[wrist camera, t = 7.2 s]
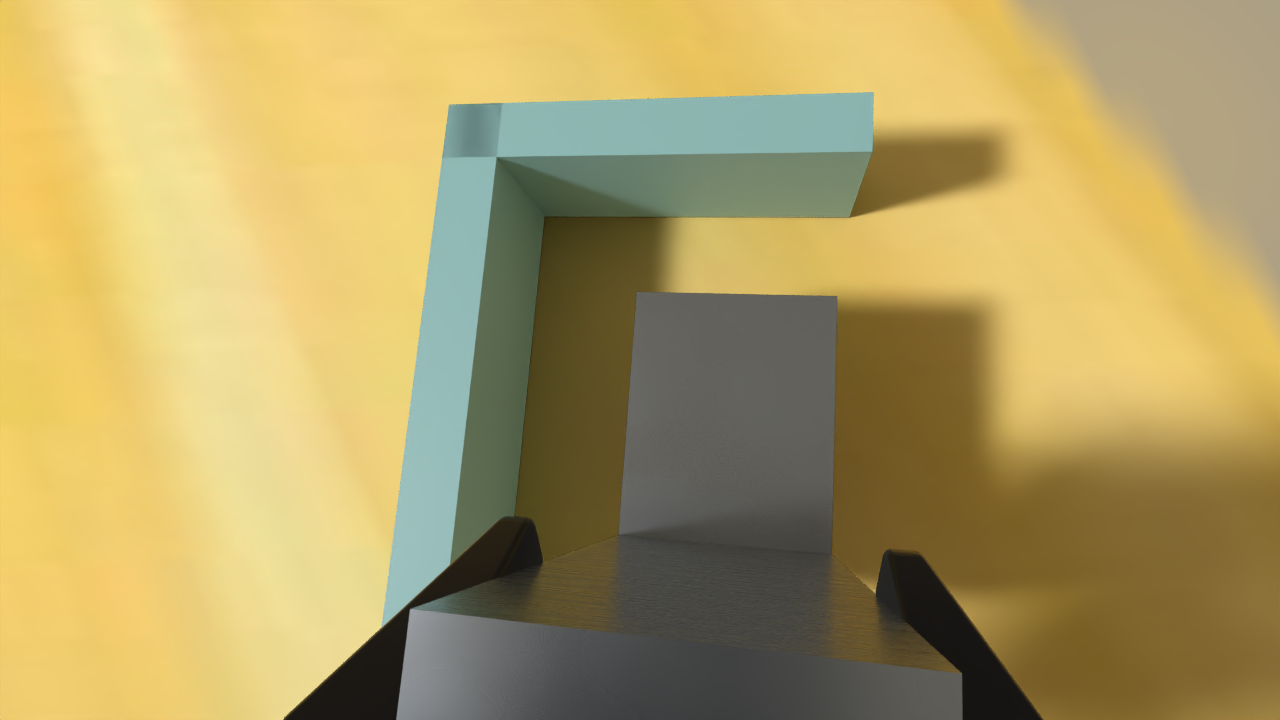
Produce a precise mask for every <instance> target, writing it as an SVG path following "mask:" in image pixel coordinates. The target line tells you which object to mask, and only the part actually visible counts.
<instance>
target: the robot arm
mask: <svg viewBox="0 0 1280 720" xmlns="http://www.w3.org/2000/svg"><path fill="white" fill-rule="evenodd" d="M540 563H543V558H542V553H541V549H540V544H539V540H538V536H537V532H536V527H535V524H534V522H533V521H532V519H530V518H526V517H515V516H505V517H502V518H500V519H499V520H498V521H497V522H496V523H494V524H493V525H492V526H491V527H490V528H489V529H488V530H487V531H486V532H485V533H484V534H483V535H481V536H480V537H479V538H478V539H477V540H476V541H475V542H474V543H473V544H472V545H471V546H470V547H468V548H467V549H466V550H465V551H464V552H463V553H462V554H461V555H460V556H459V557H458V558H457V559H455V560H454V561H453V562H452V563H451V564H450V565H449V566H448V567H447V568H446V569H445V570H444V571H442V572H441V573H440V574H439V575H438V576H437V577H436V578H435V579H434V580H433V581H432V582H431V583H429V584H428V585H427V586H426V587H425V588H424V589H423V590H422V591H421V592H420V593H419V594H418V595H416V596H415V597H414V598H413V599H412V600H411V601H410V602H409V603H408V604H407V605H406V606H405V607H403V608H402V609H401V610H400V611H399V612H398V613H397V614H396V615H395V616H394V617H393V618H392V619H390V620H389V621H388V622H387V623H386V624H385V625H384V626H383V627H382V628H381V629H380V630H379V631H377V632H376V633H375V634H374V635H373V636H372V637H371V638H370V639H369V640H368V641H367V642H366V643H364V644H363V645H362V646H361V647H360V648H359V649H358V650H357V651H356V652H355V653H354V654H353V655H351V656H350V657H349V658H348V659H347V660H346V661H345V662H344V663H343V664H342V665H341V666H340V667H338V668H337V669H336V670H335V671H334V672H333V673H332V674H331V675H330V676H329V677H328V678H327V679H325V680H324V681H323V682H322V683H321V684H320V685H319V686H318V687H317V688H316V689H315V690H314V691H312V692H311V693H310V694H309V695H308V696H307V697H306V698H305V699H304V700H303V701H302V702H301V703H299V704H298V705H297V706H296V707H295V708H294V709H293V710H292V711H291V712H290V713H289V714H288V715H287V716H285V717H284V719H283V720H396V718H397V710H398V702H399V694H400V686H401V678H402V670H403V662H404V654H405V646H406V638H407V630H408V622H409V615H410V609H412V608H415V607H417V606H420V605H423V604H426V603H429V602H431V601H434V600H437V599H440V598H443V597H445V596H448V595H451V594H454V593H457V592H459V591H462V590H465V589H468V588H471V587H474V586H476V585H479V584H482V583H485V582H488V581H490V580H493V579H496V578H501V577H504V576H507V575H510V574H512V573H515V572H518V571H521V570H523V569H526V568H529V567H532V566H535V565H537V564H540ZM876 597H877V598H878V599H880V600H881V601H882V602H883V603H884V604H885V605H886V606H887V607H888V608H889V609H890V610H891V611H892V612H894V613H895V614H896V615H897V616H898V617H899V618H900V619H901V620H903V621H905V622H906V623H908V624H909V625H910V626H911V627H912V628H913V629H914V630H915V631H916V632H917V633H918V634H919V635H921V636H922V637H923V638H924V639H925V640H926V641H927V642H928V643H929V644H930V645H931V646H933V647H934V648H935V649H936V650H937V651H938V652H939V653H940V654H941V655H942V656H943V657H945V658H946V659H947V660H948V661H949V662H950V663H951V664H952V665H953V666H954V667H955V668H957V669H958V670H959V671H960V672H961V673H962V715H963V720H1043V718H1042V717H1041V716H1040V714H1039V713H1038V712H1037V710H1036V709H1035V707H1034V706H1033V705H1032V703H1031V702H1030V701H1029V699H1028V698H1027V697H1026V695H1025V694H1024V692H1023V691H1022V690H1021V688H1020V687H1019V686H1018V684H1017V683H1016V681H1015V680H1014V679H1013V677H1012V676H1011V675H1010V673H1009V672H1008V671H1007V669H1006V668H1005V666H1004V665H1003V664H1002V662H1001V661H1000V660H999V658H998V657H997V656H996V654H995V653H994V651H993V650H992V649H991V647H990V646H989V645H988V643H987V642H986V641H985V639H984V638H983V636H982V635H981V634H980V632H979V631H978V630H977V628H976V627H975V625H974V624H973V623H972V621H971V620H970V619H969V617H968V616H967V615H966V613H965V612H964V610H963V609H962V608H961V606H960V605H959V604H958V602H957V601H956V600H955V598H954V597H953V595H952V594H951V593H950V591H949V590H948V589H947V587H946V586H945V585H944V583H943V582H942V580H941V579H940V578H939V576H938V575H937V574H936V572H935V571H934V570H933V568H932V567H931V565H930V564H929V563H928V561H927V560H926V559H925V557H924V556H923V555H922V554H920V553H919V552H916V551H908V550H897V549H888V550H886V551H885V553H884V555H883V559H882V564H881V568H880V573H879V578H878V583H877V588H876Z"/></svg>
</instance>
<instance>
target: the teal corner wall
mask: <svg viewBox="0 0 1280 720" xmlns="http://www.w3.org/2000/svg"><path fill="white" fill-rule="evenodd" d="M873 95H874V92H866V93H832V94H798V95H764V96H730V97H696V98H661V99H627V100H593V101H559V102H525V103H491V104H456V105H449V109H448V117H447V125H446V133H445V140H444V148H443V156H442V164H441V171H440V179H439V187H438V195H437V203H436V210H435V218H434V226H433V234H432V241H431V249H430V257H429V265H428V272H427V280H426V288H425V296H424V303H423V311H422V319H421V327H420V334H419V342H418V350H417V358H416V365H415V373H414V381H413V389H412V396H411V404H410V412H409V420H408V427H407V435H406V443H405V451H404V458H403V466H402V474H401V482H400V490H399V497H398V505H397V513H396V521H395V528H394V536H393V544H392V552H391V559H390V567H389V575H388V583H387V590H386V598H385V606H384V614H383V621H382V627H383V626H384V625H385V624H386V623H387V622H388V621H389V620H390V619H392V618H393V617H394V616H395V615H396V614H397V613H398V612H399V611H400V610H401V609H402V608H403V607H405V606H406V605H407V604H408V603H409V602H410V601H411V600H412V599H413V598H414V597H415V596H416V595H418V594H419V593H420V592H421V591H422V590H423V589H424V588H425V587H426V586H427V585H428V584H429V583H431V582H432V581H433V580H434V579H435V578H436V577H437V576H438V575H439V574H440V573H441V572H442V571H444V570H445V569H446V568H447V567H448V566H449V565H450V564H451V563H452V562H453V561H454V560H455V559H457V558H458V557H459V556H460V555H461V554H462V553H463V552H464V551H465V550H466V549H467V548H468V547H470V546H471V545H472V544H473V543H474V542H475V541H476V540H477V539H478V538H479V537H480V536H481V535H483V534H484V533H485V532H486V531H487V530H488V529H489V528H490V527H491V526H492V525H493V524H494V523H496V522H497V521H498V520H499V519H500V518H502V517H505V516H515V506H516V496H517V486H518V476H519V466H520V456H521V446H522V436H523V426H524V416H525V406H526V396H527V386H528V376H529V366H530V356H531V346H532V337H533V327H534V317H535V307H536V297H537V287H538V277H539V267H540V257H541V247H542V237H543V227H544V217H850V214H851V211H852V208H853V205H854V203H855V200H856V197H857V194H858V191H859V189H860V186H861V183H862V180H863V177H864V175H865V172H866V169H867V166H868V163H869V160H870V158H871V155H872V152H873Z"/></svg>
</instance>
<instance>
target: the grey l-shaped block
mask: <svg viewBox="0 0 1280 720" xmlns="http://www.w3.org/2000/svg"><path fill="white" fill-rule="evenodd" d="M836 331H837V296H803V295H757V294H711V293H665V292H637V295H636V308H635V322H634V335H633V348H632V361H631V375H630V388H629V401H628V415H627V428H626V441H625V455H624V468H623V481H622V495H621V508H620V521H619V534H618V535H617V536H614V537H611V538H608V539H606V540H603V541H600V542H597V543H594V544H592V545H589V546H586V547H583V548H580V549H577V550H575V551H572V552H569V553H566V554H563V555H561V556H558V557H555V558H552V559H549V560H547V561H544V562H543V563H540V564H537V565H535V566H532V567H529V568H526V569H523V570H521V571H518V572H515V573H512V574H510V575H507V576H504V577H501V578H496V579H493V580H490V581H488V582H485V583H482V584H479V585H476V586H474V587H471V588H468V589H465V590H462V591H459V592H457V593H454V594H451V595H448V596H445V597H443V598H440V599H437V600H434V601H431V602H429V603H426V604H423V605H420V606H417V607H415V608H412V609H410V615H409V622H408V630H407V638H406V646H405V654H404V662H403V670H402V678H401V686H400V694H399V702H398V710H397V718H396V720H963V715H962V673H961V672H960V671H959V670H958V669H957V668H955V667H954V666H953V665H952V664H951V663H950V662H949V661H948V660H947V659H946V658H945V657H943V656H942V655H941V654H940V653H939V652H938V651H937V650H936V649H935V648H934V647H933V646H931V645H930V644H929V643H928V642H927V641H926V640H925V639H924V638H923V637H922V636H921V635H919V634H918V633H917V632H916V631H915V630H914V629H913V628H912V627H911V626H910V625H909V624H908V623H906V622H905V621H903V620H901V619H900V618H899V617H898V616H897V615H896V614H895V613H894V612H892V611H891V610H890V609H889V608H888V607H887V606H886V605H885V604H884V603H883V602H882V601H881V600H880V599H878V598H877V597H876V594H875V593H874V592H873V591H872V590H870V589H869V588H868V587H867V586H866V585H865V584H864V583H863V582H862V581H861V580H860V579H858V578H857V577H856V576H855V575H854V574H853V573H852V572H851V571H850V570H849V569H848V568H846V567H845V566H844V565H843V564H842V563H841V562H840V561H839V560H838V559H837V558H836V557H835V556H833V555H832V520H833V473H834V425H835V378H836Z"/></svg>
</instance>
